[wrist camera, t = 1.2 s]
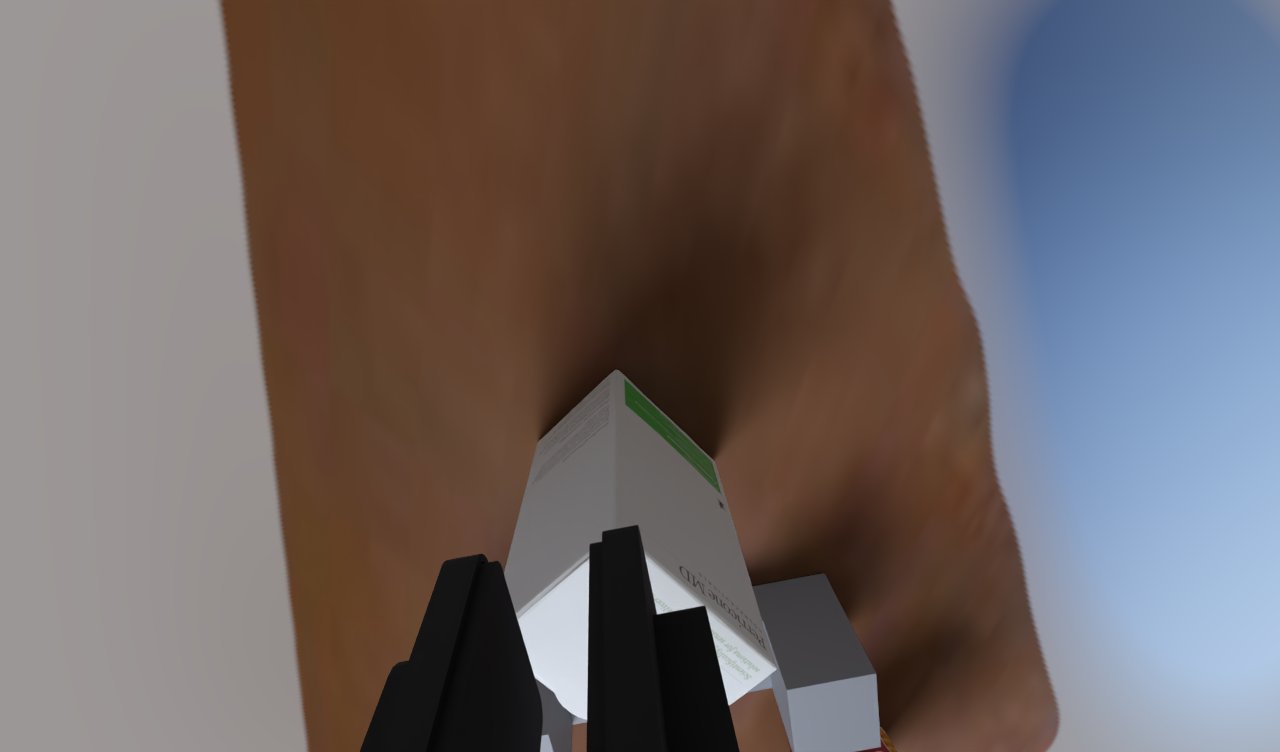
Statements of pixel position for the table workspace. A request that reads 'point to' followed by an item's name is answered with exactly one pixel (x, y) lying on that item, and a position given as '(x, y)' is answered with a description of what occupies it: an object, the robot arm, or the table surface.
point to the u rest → (792, 673)
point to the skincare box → (620, 497)
